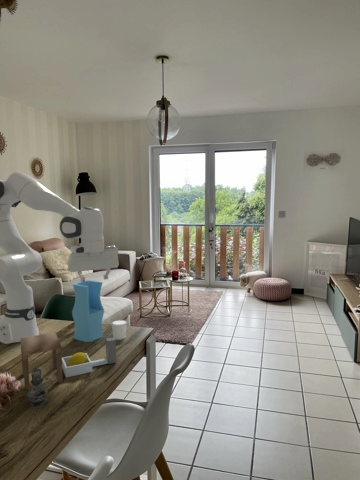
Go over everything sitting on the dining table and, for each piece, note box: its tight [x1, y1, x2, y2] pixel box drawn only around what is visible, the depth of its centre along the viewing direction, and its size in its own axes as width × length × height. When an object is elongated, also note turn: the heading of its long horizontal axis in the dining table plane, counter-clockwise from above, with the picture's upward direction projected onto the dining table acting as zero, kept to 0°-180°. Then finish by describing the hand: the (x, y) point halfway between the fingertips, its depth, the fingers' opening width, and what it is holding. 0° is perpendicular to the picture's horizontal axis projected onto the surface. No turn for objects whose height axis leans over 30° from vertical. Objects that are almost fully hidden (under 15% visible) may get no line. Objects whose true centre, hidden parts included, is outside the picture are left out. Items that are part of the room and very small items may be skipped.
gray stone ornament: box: [26, 366, 49, 409], centre depth 112 cm, size 6×6×12 cm
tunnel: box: [20, 332, 64, 391], centre depth 128 cm, size 12×13×13 cm
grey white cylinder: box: [110, 319, 128, 341], centre depth 165 cm, size 7×7×7 cm
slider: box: [62, 336, 117, 378], centre depth 136 cm, size 19×9×9 cm, turn 116°
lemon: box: [67, 352, 88, 367], centre depth 133 cm, size 6×6×8 cm
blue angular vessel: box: [71, 279, 105, 343], centre depth 164 cm, size 10×10×25 cm
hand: (94, 280), depth 150 cm, fingers open, 8 cm apart
